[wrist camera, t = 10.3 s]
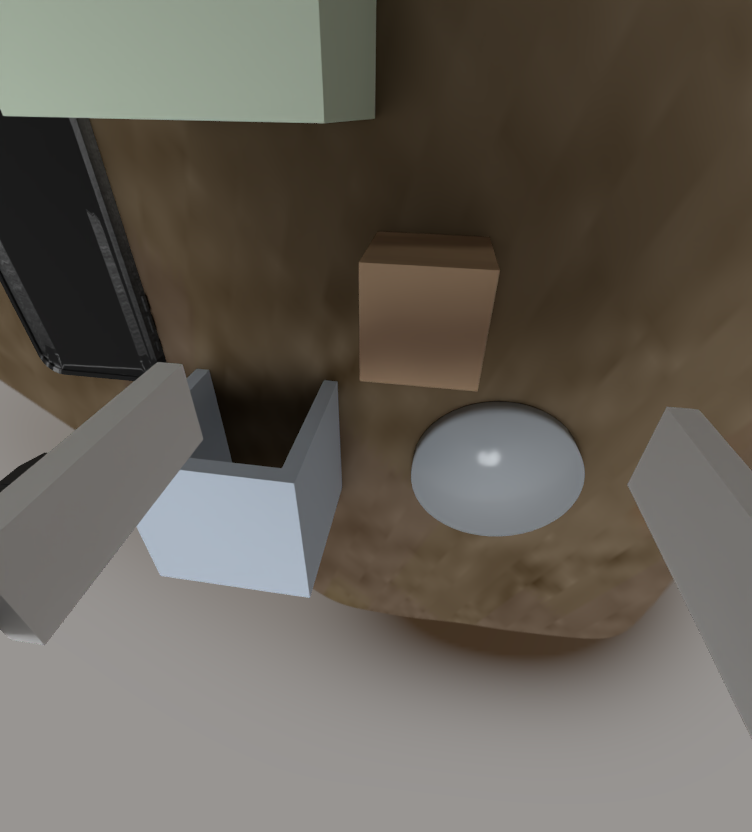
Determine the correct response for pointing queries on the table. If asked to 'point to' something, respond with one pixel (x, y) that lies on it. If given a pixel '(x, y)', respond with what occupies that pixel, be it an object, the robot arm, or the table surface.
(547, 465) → the dish
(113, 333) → the phone
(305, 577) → the blue cover
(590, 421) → the table surface
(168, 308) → the table surface
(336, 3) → the sage cover
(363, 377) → the walnut block
